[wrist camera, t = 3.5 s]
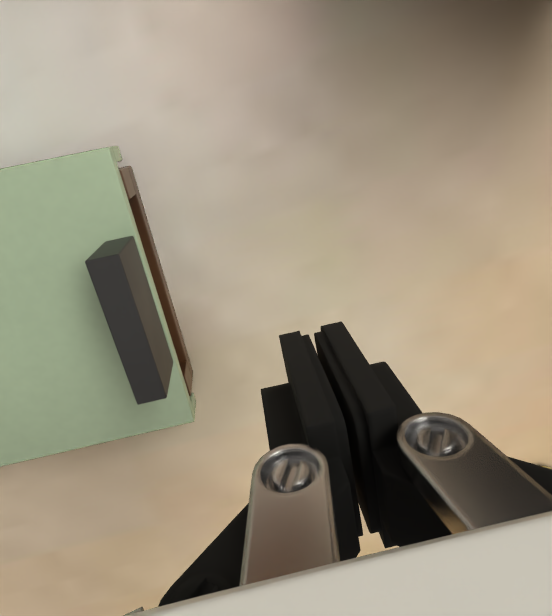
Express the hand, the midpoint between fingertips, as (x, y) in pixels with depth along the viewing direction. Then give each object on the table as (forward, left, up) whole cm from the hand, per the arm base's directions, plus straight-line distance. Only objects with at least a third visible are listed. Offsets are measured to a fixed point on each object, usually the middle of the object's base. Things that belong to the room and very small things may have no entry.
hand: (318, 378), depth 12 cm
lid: (-13, 0, -10) cm, 16 cm away
